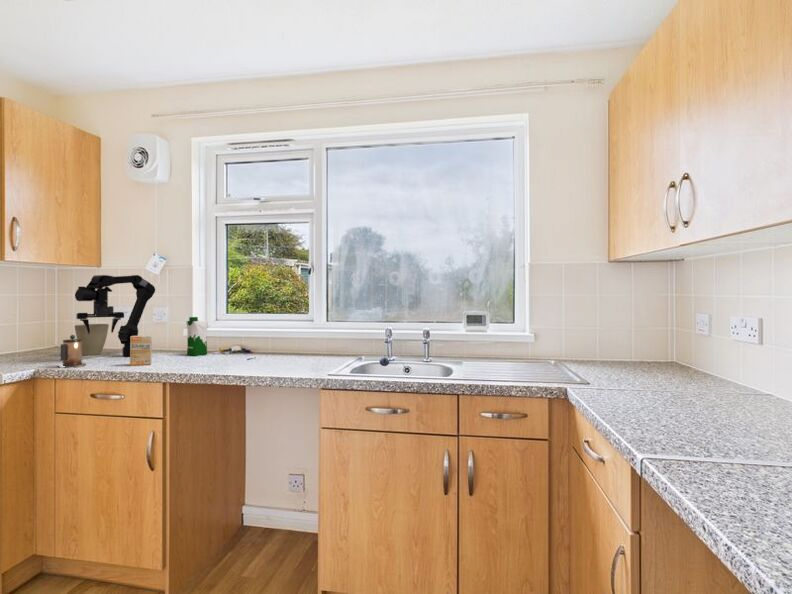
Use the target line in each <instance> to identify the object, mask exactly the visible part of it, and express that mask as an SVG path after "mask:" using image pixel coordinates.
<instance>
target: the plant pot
mask: <svg viewBox="0 0 792 594" xmlns="http://www.w3.org/2000/svg"><path fill="white" fill-rule="evenodd" d="M109 327H110V324H109V323H89V329H90V334H88V331H87V329H86V326H85V324H84V323H83V324H75V325H74V331H75V337H76V339H82V355H83V356H84V355H94V356H99V354H100V355H101V354H102V352H103V349H104V347H105V344H106V339H107V337H108V332H109Z"/></svg>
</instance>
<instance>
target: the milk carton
mask: <svg viewBox="0 0 792 594" xmlns="http://www.w3.org/2000/svg"><path fill="white" fill-rule="evenodd" d="M198 319H199V318H198V317H197V316H189V319H188V320H186V321H185V323H186V329H187V330H186V331H187V346H186V347H187V348H186V349H187V352H186V356H188V355H190V357H199V356H198V355H202V356H207V355H208V343H207V342H208V339H207V338H208V331H207V330H208V323H209V321H208V320H198ZM206 354H207V355H206Z"/></svg>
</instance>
